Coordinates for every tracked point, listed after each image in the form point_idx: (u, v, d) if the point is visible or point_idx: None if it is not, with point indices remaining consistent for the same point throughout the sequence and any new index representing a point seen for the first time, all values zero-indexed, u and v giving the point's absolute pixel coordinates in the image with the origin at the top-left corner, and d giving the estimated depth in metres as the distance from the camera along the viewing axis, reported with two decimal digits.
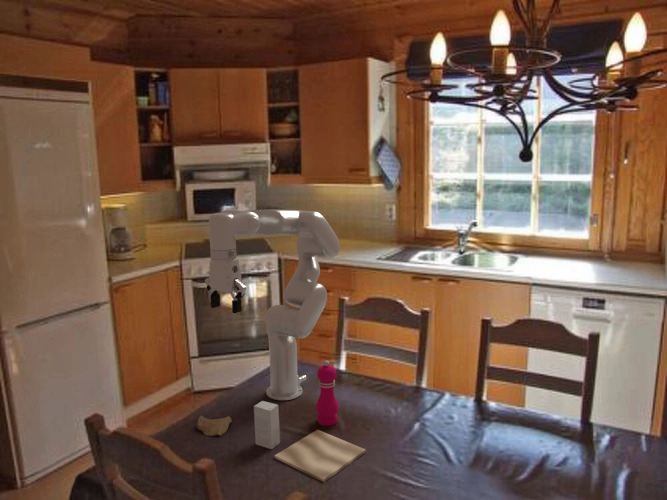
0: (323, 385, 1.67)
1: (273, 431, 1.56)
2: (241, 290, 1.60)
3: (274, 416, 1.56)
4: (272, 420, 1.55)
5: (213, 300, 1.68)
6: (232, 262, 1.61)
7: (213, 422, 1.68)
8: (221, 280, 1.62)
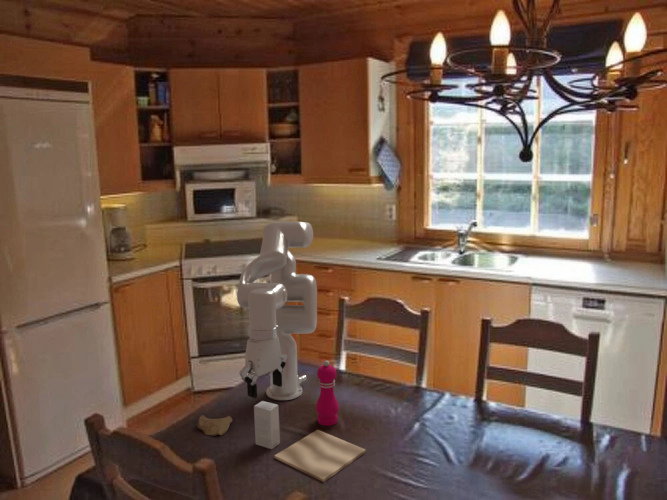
0: (323, 385, 1.67)
1: (273, 431, 1.56)
2: (285, 359, 1.60)
3: (274, 416, 1.56)
4: (272, 420, 1.55)
5: None
6: None
7: (214, 422, 1.69)
8: (273, 358, 1.54)
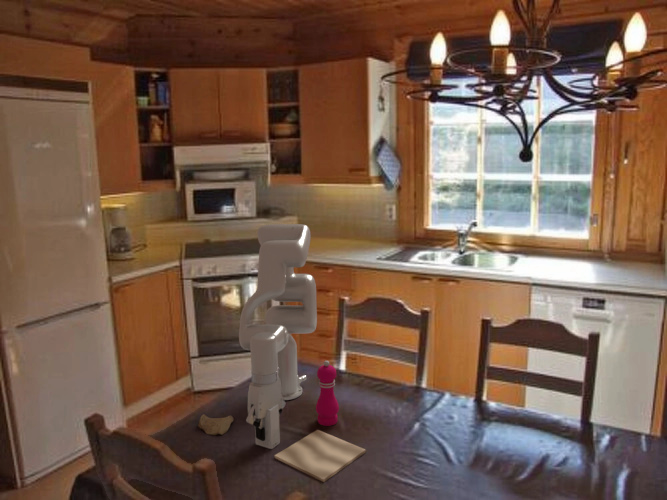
0: (323, 385, 1.67)
1: (273, 431, 1.56)
2: (283, 406, 1.62)
3: (274, 416, 1.56)
4: (272, 420, 1.55)
5: None
6: None
7: (215, 421, 1.69)
8: (275, 401, 1.56)
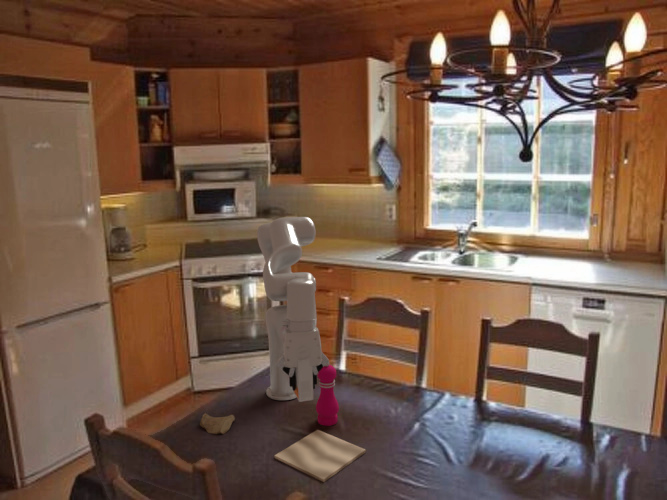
0: (323, 385, 1.67)
1: None
2: None
3: None
4: None
5: None
6: (285, 331, 1.48)
7: (216, 420, 1.70)
8: None
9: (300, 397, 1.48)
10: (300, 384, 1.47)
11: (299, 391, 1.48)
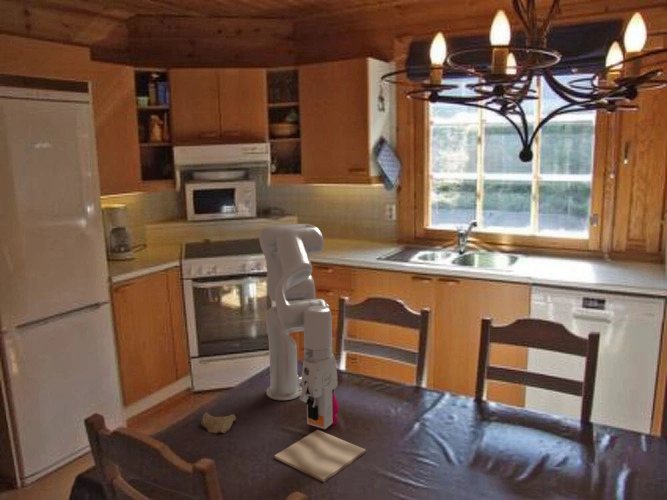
0: None
1: None
2: None
3: None
4: None
5: None
6: (305, 363, 1.45)
7: (217, 420, 1.70)
8: None
9: (325, 424, 1.48)
10: (325, 411, 1.47)
11: (325, 418, 1.47)
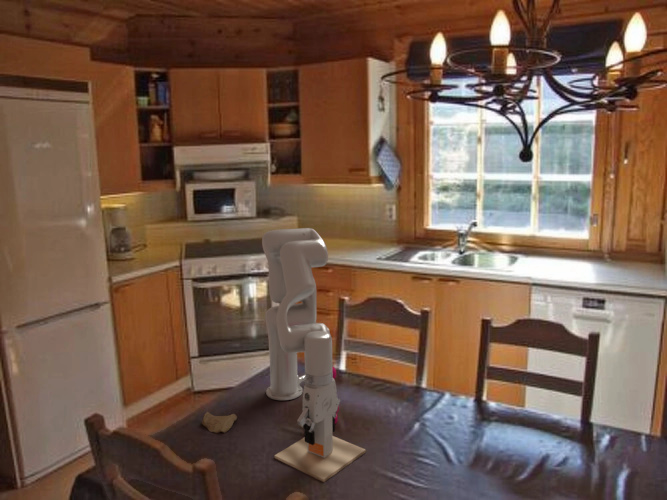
0: None
1: None
2: None
3: None
4: None
5: None
6: (306, 388, 1.46)
7: (218, 419, 1.70)
8: None
9: (325, 453, 1.50)
10: (325, 440, 1.49)
11: (324, 447, 1.49)
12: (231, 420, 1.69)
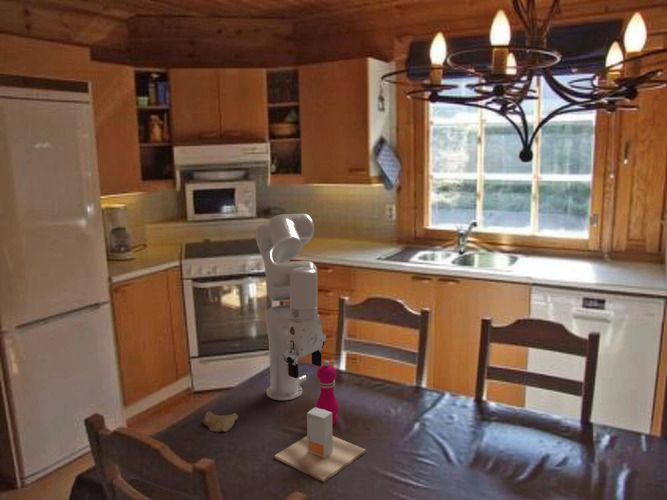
0: (323, 385, 1.67)
1: None
2: None
3: None
4: None
5: (312, 356, 1.57)
6: (291, 322, 1.47)
7: (219, 418, 1.71)
8: None
9: (325, 453, 1.50)
10: (325, 440, 1.49)
11: (324, 447, 1.49)
12: (232, 419, 1.70)
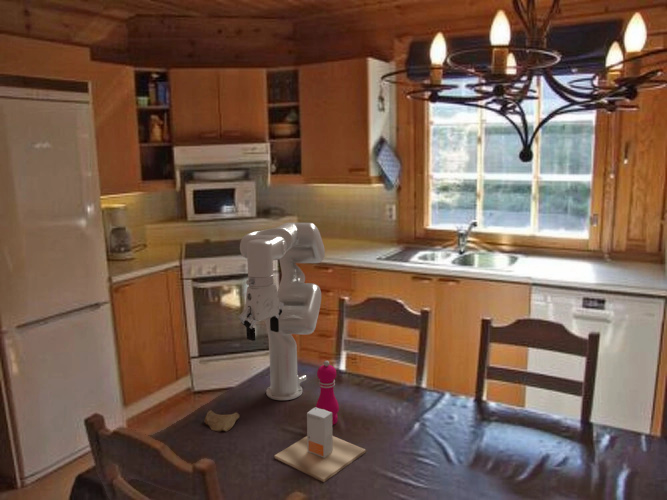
0: (323, 385, 1.67)
1: None
2: None
3: None
4: None
5: (271, 323, 1.71)
6: (248, 289, 1.61)
7: (221, 418, 1.71)
8: None
9: (325, 453, 1.50)
10: (325, 440, 1.49)
11: (324, 447, 1.49)
12: (233, 419, 1.70)
